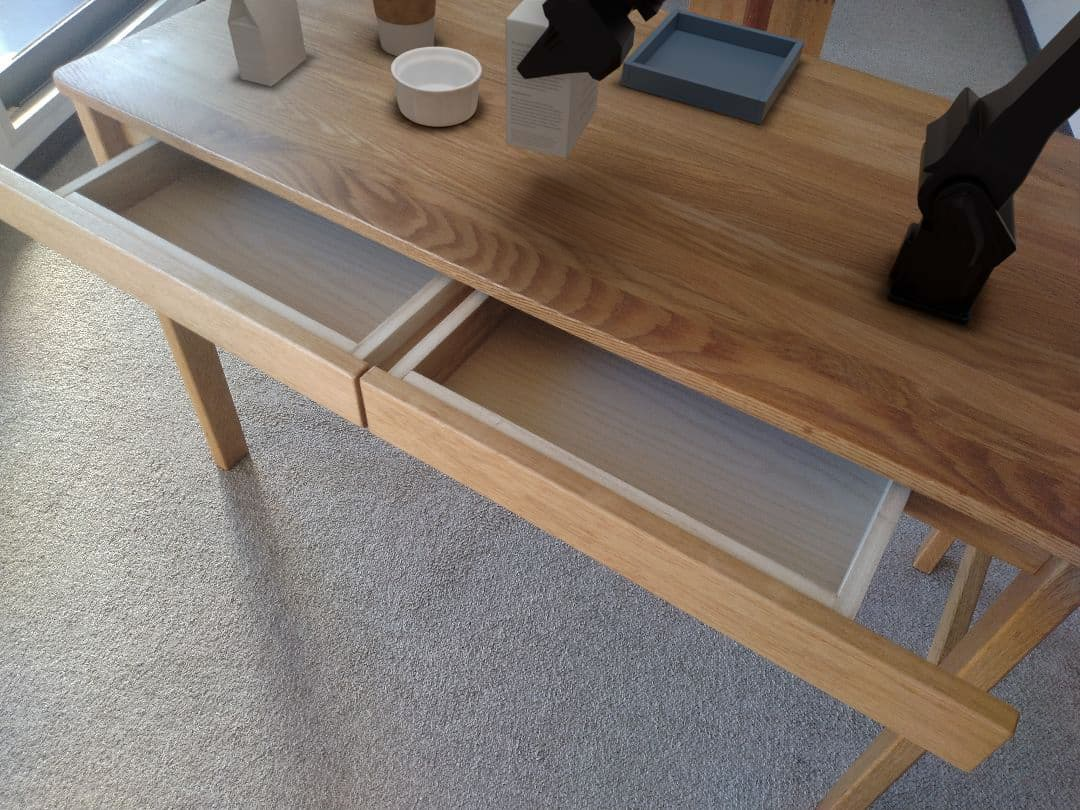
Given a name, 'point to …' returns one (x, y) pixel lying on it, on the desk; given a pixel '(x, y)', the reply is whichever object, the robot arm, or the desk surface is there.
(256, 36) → the grey carton
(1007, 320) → the desk surface
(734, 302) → the desk surface
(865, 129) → the desk surface
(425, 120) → the ramekin
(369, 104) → the desk surface
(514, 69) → the small box
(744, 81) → the tray
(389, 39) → the coffee cup
